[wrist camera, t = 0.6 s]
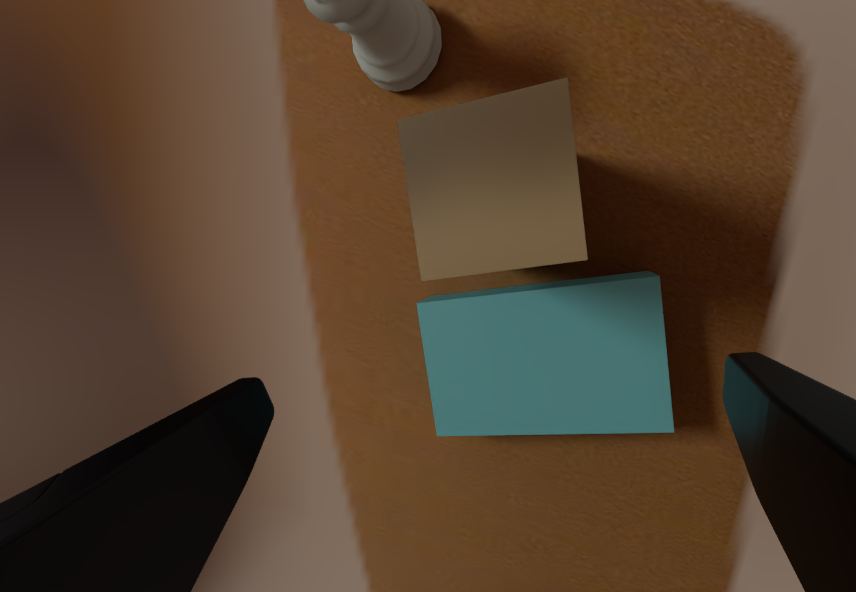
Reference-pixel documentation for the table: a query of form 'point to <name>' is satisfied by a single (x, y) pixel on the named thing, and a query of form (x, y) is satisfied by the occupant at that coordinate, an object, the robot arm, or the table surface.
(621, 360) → the base block
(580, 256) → the tan wooden block
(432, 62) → the rook chess piece
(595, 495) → the table surface
